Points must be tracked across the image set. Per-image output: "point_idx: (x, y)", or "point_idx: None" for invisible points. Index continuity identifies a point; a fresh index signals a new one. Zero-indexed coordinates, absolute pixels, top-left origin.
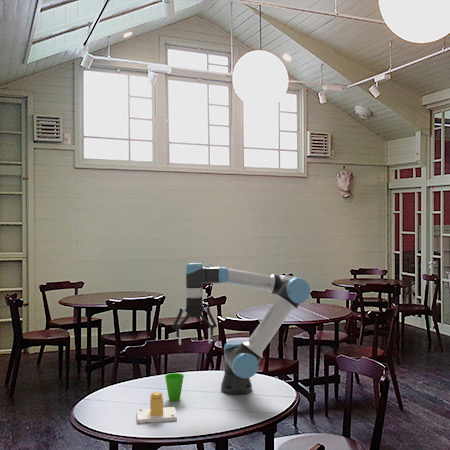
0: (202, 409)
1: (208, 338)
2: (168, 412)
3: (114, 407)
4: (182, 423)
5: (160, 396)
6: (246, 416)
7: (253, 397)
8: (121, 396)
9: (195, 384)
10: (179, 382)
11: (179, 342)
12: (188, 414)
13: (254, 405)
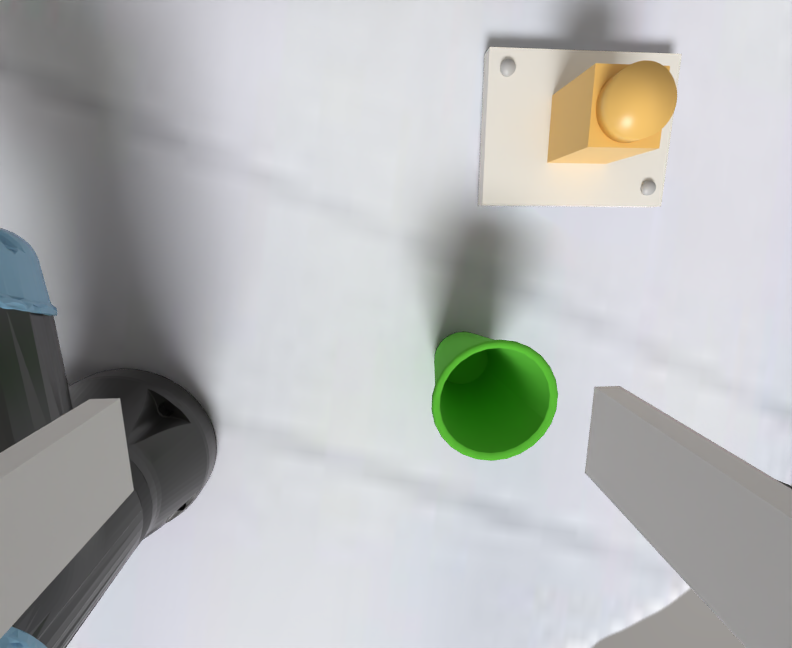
0: (340, 187)
1: (86, 514)
2: (522, 125)
3: (733, 303)
4: (462, 4)
5: (616, 74)
6: (113, 22)
7: None
8: None
9: (337, 549)
10: (461, 349)
11: (641, 402)
12: (418, 130)
13: (53, 187)
